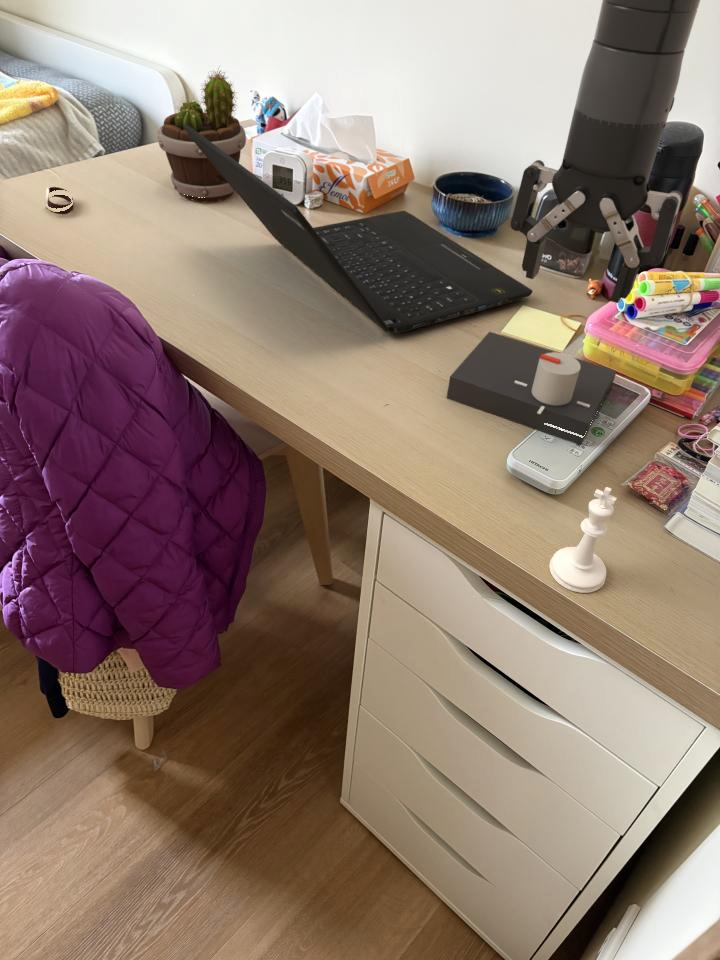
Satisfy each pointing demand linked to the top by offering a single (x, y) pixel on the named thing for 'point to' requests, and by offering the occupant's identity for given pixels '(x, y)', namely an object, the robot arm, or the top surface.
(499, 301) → the laptop
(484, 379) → the dark grey flat block
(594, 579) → the chess piece
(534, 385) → the knob
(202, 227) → the top surface
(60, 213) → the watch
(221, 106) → the flowerpot
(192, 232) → the top surface
